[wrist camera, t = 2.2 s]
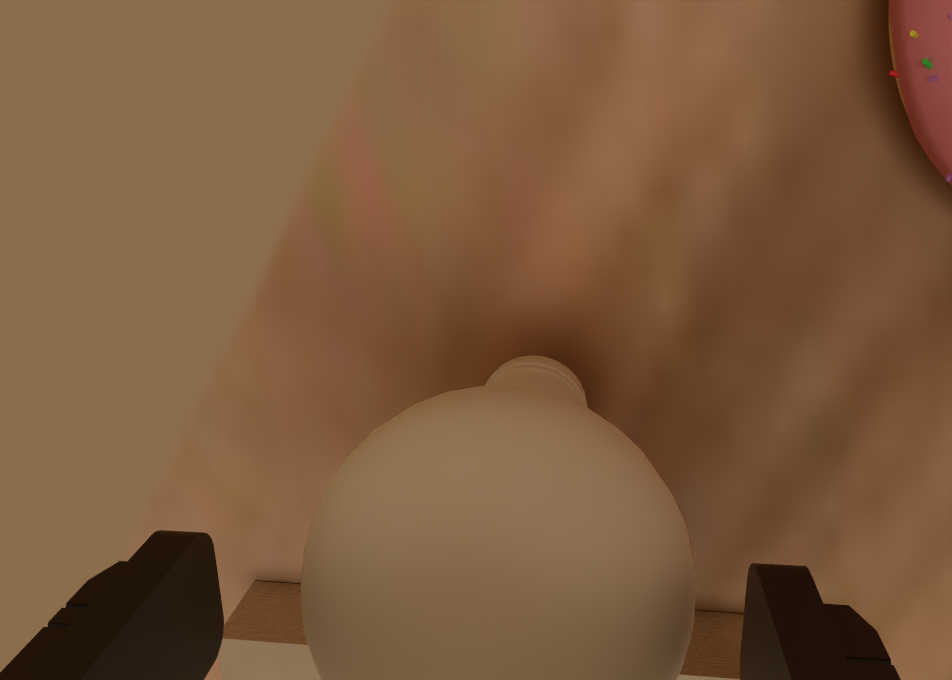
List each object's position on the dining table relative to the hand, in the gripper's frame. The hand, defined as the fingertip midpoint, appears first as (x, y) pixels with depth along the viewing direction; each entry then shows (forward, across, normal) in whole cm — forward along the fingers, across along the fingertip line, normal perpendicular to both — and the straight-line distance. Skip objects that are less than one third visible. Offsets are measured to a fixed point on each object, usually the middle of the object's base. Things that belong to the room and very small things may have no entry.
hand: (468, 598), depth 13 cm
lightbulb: (+9, 0, 0) cm, 9 cm away
